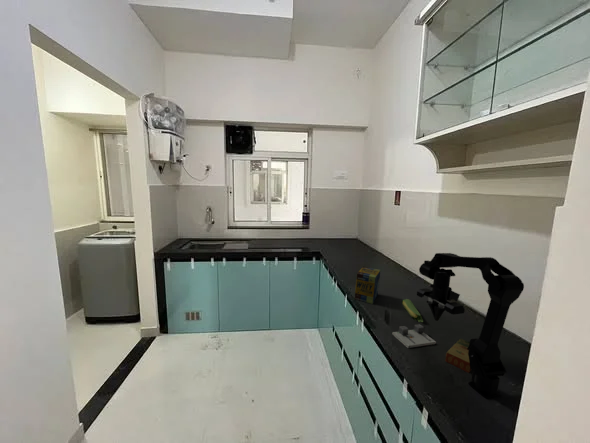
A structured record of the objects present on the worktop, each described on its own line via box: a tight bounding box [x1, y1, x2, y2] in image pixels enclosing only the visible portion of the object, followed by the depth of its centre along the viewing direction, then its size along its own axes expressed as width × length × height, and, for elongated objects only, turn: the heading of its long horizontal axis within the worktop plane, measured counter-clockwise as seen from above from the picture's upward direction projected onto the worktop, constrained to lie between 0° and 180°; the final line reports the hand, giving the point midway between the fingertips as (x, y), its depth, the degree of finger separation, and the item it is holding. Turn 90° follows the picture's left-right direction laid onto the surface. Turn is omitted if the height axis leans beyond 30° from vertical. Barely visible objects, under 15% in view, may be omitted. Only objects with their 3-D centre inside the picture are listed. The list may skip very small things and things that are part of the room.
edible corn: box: [401, 298, 424, 323], centre depth 138 cm, size 5×20×5 cm
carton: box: [445, 338, 472, 374], centre depth 104 cm, size 8×16×4 cm, turn 132°
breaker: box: [412, 323, 425, 333], centre depth 119 cm, size 3×3×2 cm
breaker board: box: [392, 329, 437, 349], centre depth 115 cm, size 10×14×1 cm
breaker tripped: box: [397, 325, 410, 335], centre depth 117 cm, size 3×3×2 cm
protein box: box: [354, 266, 381, 305], centre depth 155 cm, size 10×15×16 cm
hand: (436, 320), depth 110 cm, fingers closed
